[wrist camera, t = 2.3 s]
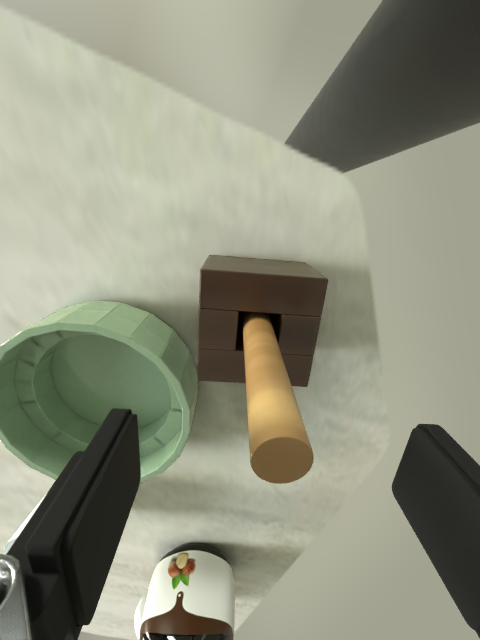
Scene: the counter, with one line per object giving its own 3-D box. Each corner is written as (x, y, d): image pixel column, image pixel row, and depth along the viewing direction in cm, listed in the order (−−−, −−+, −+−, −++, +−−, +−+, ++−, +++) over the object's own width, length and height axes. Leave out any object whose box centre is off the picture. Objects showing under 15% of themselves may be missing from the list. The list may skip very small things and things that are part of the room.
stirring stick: (242, 292, 23) (253, 434, 8) (266, 294, 23) (319, 438, 8) (240, 314, 24) (247, 482, 9) (263, 316, 24) (308, 485, 9)
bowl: (17, 292, 23) (-46, 315, 18) (201, 305, 24) (191, 331, 18) (48, 435, 28) (7, 484, 23) (197, 443, 29) (188, 492, 24)
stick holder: (209, 254, 22) (199, 268, 17) (305, 262, 22) (329, 278, 17) (205, 342, 25) (196, 380, 19) (291, 348, 25) (307, 387, 20)
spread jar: (236, 541, 35) (236, 690, 24) (231, 593, 39) (229, 741, 28) (139, 538, 34) (95, 689, 24) (145, 591, 38) (109, 740, 28)
